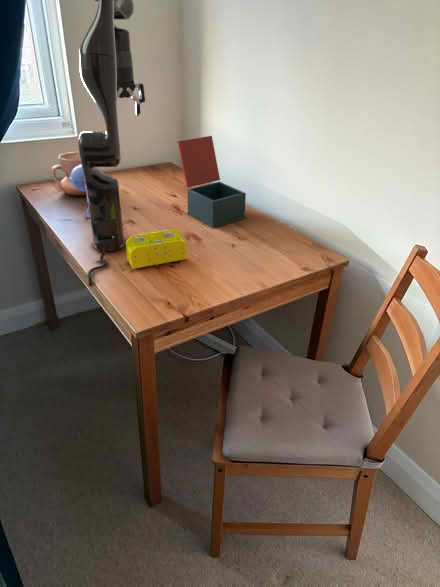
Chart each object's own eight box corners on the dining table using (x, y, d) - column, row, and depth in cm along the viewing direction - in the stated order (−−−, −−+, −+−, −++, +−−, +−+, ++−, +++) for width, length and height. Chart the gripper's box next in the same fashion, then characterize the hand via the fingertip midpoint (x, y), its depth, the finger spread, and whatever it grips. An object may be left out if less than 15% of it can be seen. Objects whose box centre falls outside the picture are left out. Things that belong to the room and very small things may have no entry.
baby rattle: (76, 223, 151) (68, 170, 142) (76, 214, 158) (68, 162, 149) (103, 221, 153) (96, 168, 144) (101, 212, 160) (95, 160, 151)
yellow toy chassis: (180, 253, 135) (179, 227, 131) (187, 261, 131) (186, 235, 126) (127, 262, 130) (124, 235, 125) (132, 271, 125) (129, 244, 121)
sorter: (244, 218, 159) (245, 193, 154) (212, 227, 151) (213, 201, 146) (218, 205, 168) (219, 181, 163) (187, 213, 161) (187, 189, 156)
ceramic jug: (99, 183, 185) (95, 148, 177) (106, 195, 174) (101, 158, 166) (53, 188, 179) (46, 152, 171) (56, 201, 168) (50, 162, 160)
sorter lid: (211, 135, 158) (210, 136, 159) (178, 141, 151) (176, 141, 152) (220, 180, 163) (218, 180, 163) (188, 187, 155) (186, 187, 156)
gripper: (102, 66, 146) (107, 119, 155) (145, 65, 151) (148, 117, 160) (97, 64, 152) (102, 115, 161) (139, 63, 157) (142, 112, 166)
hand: (125, 116), depth 160 cm, fingers open, 8 cm apart
